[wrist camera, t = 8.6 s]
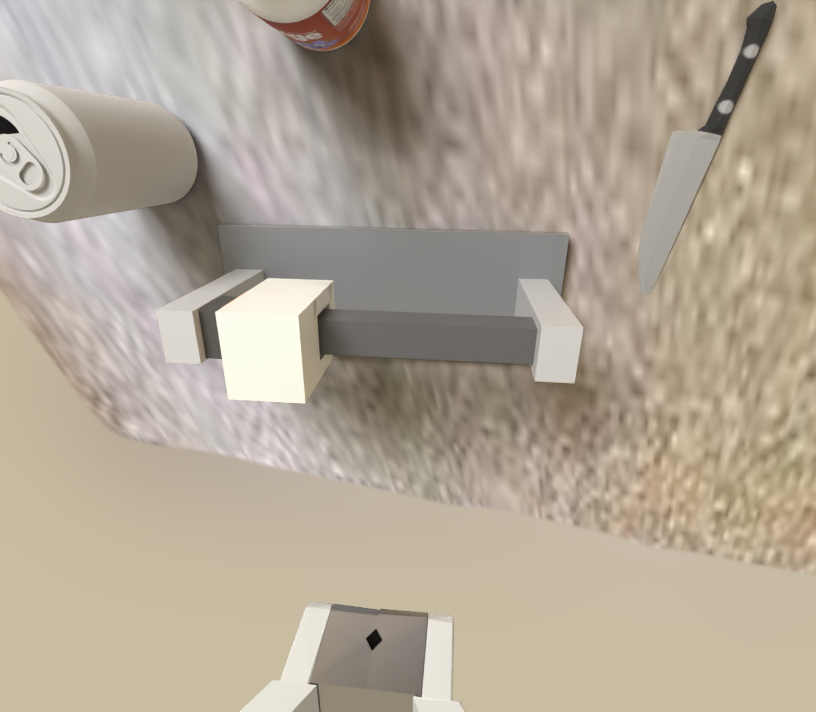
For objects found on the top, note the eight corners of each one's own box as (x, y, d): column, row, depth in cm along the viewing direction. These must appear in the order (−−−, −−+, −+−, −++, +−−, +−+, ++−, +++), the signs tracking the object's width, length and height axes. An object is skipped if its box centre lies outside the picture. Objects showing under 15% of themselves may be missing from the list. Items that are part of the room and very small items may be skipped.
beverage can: (148, 79, 31) (-21, 38, 20) (222, 159, 33) (102, 162, 22) (95, 150, 33) (-84, 147, 22) (167, 222, 35) (32, 254, 24)
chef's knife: (596, 309, 35) (637, 319, 34) (599, 313, 34) (641, 324, 33) (721, -6, 27) (775, 5, 27) (730, -13, 26) (786, -1, 26)
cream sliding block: (333, 280, 28) (298, 315, 22) (337, 352, 30) (305, 403, 24) (267, 278, 29) (215, 312, 22) (275, 349, 30) (228, 399, 24)
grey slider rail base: (566, 232, 32) (615, 267, 22) (549, 355, 36) (585, 434, 26) (223, 223, 34) (125, 252, 24) (239, 341, 38) (159, 408, 28)
